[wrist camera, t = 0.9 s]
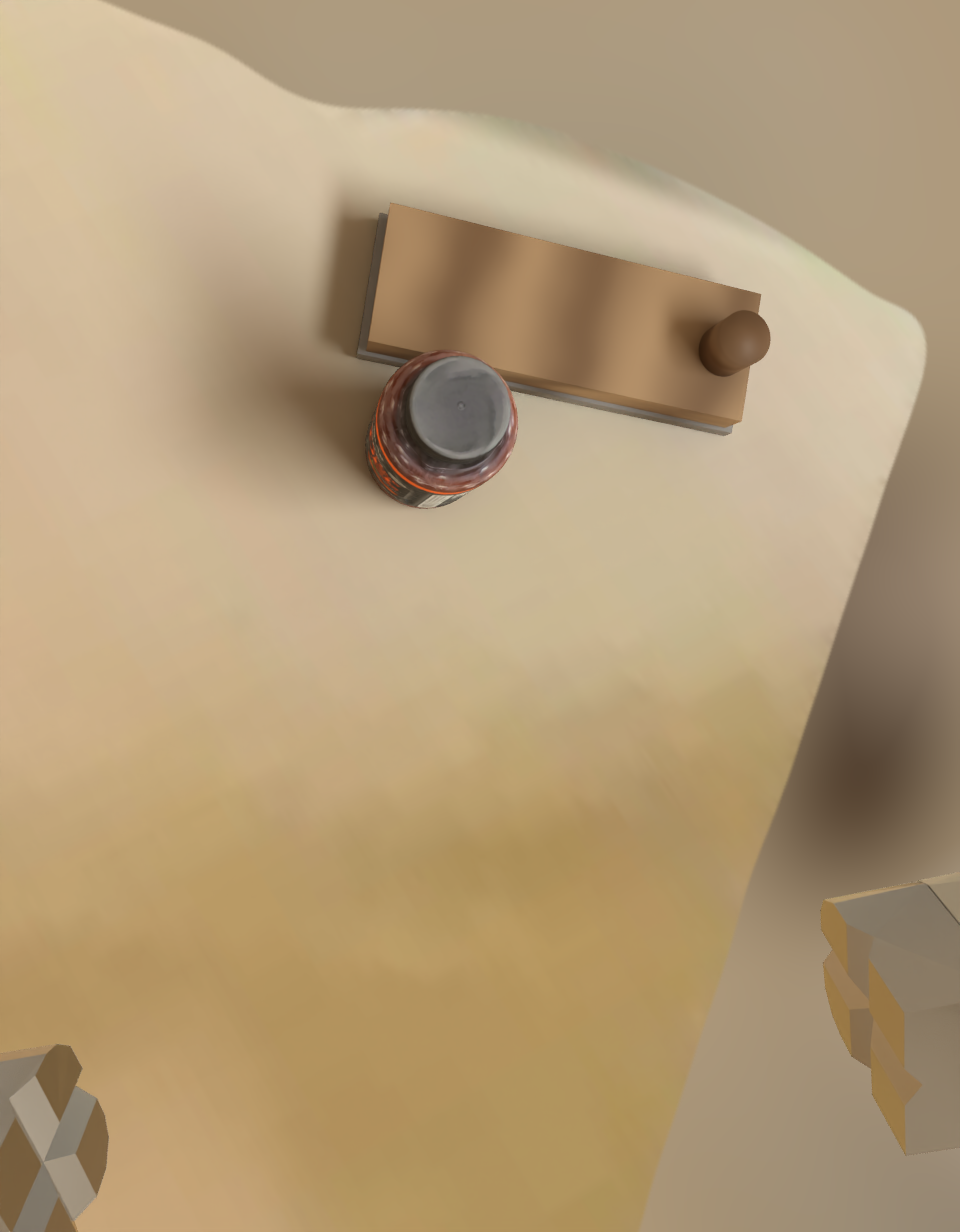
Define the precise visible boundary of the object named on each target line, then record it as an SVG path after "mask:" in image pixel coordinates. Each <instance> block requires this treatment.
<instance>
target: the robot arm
mask: <svg viewBox="0 0 960 1232" xmlns="http://www.w3.org/2000/svg"><path fill="white" fill-rule="evenodd" d="M821 930H822V932H823V934H824V935H825V937H826V939H827V940H828V942H829V944H830V945H831V947H832V951H831V952H830V954H829V955H828V956H827V958H826V959H825V961H824V962H823V968H824V978H825V989H826V992H827V997H828V1000H829V1004H830V1008H831V1012H832V1015H833V1018H834V1020H835V1023H836V1025H837V1028H838V1030H839V1033H840V1035H841V1037H842V1039H843V1041H844V1043H845V1045H846V1047H847V1049H848V1051H849V1052H850V1054H851V1056H852V1057H853V1058H855V1059H856V1060H858V1061H859V1062H861V1063H863V1064H864V1065H866V1066H867V1067H869V1068H871V1076H872V1095H873V1097H874V1099H875V1101H876V1103H877V1104H878V1106H879V1108H880V1110H881V1112H882V1113H883V1115H884V1117H885V1119H886V1121H887V1122H888V1124H889V1126H890V1128H891V1130H892V1132H893V1133H894V1135H895V1137H896V1139H897V1141H898V1142H899V1144H900V1146H901V1148H902V1150H903V1151H904V1154H905V1155H906V1156H908V1155H914V1154H921V1153H928V1152H934V1151H941V1150H948V1149H954V1148H960V872H957V873H953V874H948V875H943V876H938V877H933V878H928V879H923V880H918V881H917V883H916V882H911V883H906V884H901V885H896V886H891V887H886V888H881V889H875V890H871V891H865V892H860V893H855V894H850V895H845V896H840V897H835V898H830V899H825V900H823V904H822V908H821ZM81 1071H82V1066H81V1065H80V1063H79V1061H78V1059H77V1057H76V1055H75V1054H74V1052H73V1050H72V1048H71V1046H67V1045H61V1044H54V1045H48V1046H42V1047H36V1048H30V1049H24V1050H17V1051H11V1052H5V1053H0V1232H78V1230H77V1228H76V1225H75V1222H74V1221H75V1220H76V1219H77V1217H78V1216H79V1215H80V1214H81V1213H82V1212H83V1211H84V1210H85V1209H86V1208H87V1207H88V1205H89V1204H90V1203H91V1202H92V1201H93V1200H94V1199H95V1198H96V1197H97V1194H98V1191H99V1188H100V1185H101V1182H102V1179H103V1176H104V1173H105V1170H106V1164H107V1152H108V1141H109V1136H108V1130H107V1125H106V1119H105V1115H104V1112H103V1110H102V1108H101V1106H100V1104H99V1102H98V1099H97V1098H96V1097H94V1096H92V1095H90V1094H89V1093H87V1092H85V1091H84V1090H82V1089H80V1088H79V1087H77V1086H76V1083H77V1081H78V1078H79V1076H80V1073H81Z"/></svg>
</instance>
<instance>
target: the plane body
mask: <svg viewBox="0 0 960 1232" xmlns="http://www.w3.org/2000/svg"><path fill="white" fill-rule="evenodd" d="M760 299H761V294H758V293H754V292H750V291H746V290H742V289H738V288H734V287H730V286H726V285H722V284H718V283H714V282H710V281H706V280H702V279H698V278H693V277H689V276H685V275H681V274H677V273H673V272H669V271H665V270H661V269H657V268H653V267H649V266H645V265H641V264H637V263H633V262H629V261H625V260H621V259H617V258H613V257H608V256H604V255H600V254H596V253H592V252H588V251H584V250H580V249H576V248H572V247H568V246H564V245H560V244H556V243H552V242H548V241H544V240H540V239H536V238H532V237H528V236H523V235H519V234H515V233H511V232H507V231H503V230H499V229H495V228H491V227H487V226H483V225H479V224H475V223H471V222H467V221H463V220H459V219H455V218H451V217H447V216H443V215H439V214H434V213H430V212H426V211H422V210H418V209H414V208H410V207H406V206H402V205H398V204H394V203H390V208H389V213H388V215H387V214H383V213H380V215H379V220H378V226H377V233H376V239H375V245H374V251H373V258H372V264H371V270H370V276H369V283H368V289H367V295H366V301H365V308H364V314H363V320H362V326H361V333H360V339H359V345H358V351H357V358H360V359H364V360H369V361H374V362H379V363H383V364H388V365H393V366H398V367H402V366H403V365H404V364H405V363H406V362H408V361H409V360H411V359H412V358H414V357H416V356H419V355H421V354H423V353H426V352H430V351H436V350H455V351H461V352H465V353H468V354H471V355H474V356H476V357H478V358H480V359H482V360H483V361H485V362H486V363H488V364H489V365H490V366H491V367H493V368H494V369H495V370H496V371H497V372H498V373H499V374H500V375H501V377H502V378H503V379H504V381H505V382H506V383H507V385H508V387H509V389H510V390H511V391H516V392H520V393H525V394H530V395H535V396H539V397H544V398H549V399H553V400H558V401H563V402H568V403H572V404H577V405H582V406H587V407H591V408H596V409H601V410H605V411H610V412H615V413H620V414H624V415H629V416H634V417H638V418H643V419H648V420H653V421H657V422H662V423H667V424H672V425H676V426H681V427H686V428H690V429H695V430H700V431H705V432H709V433H714V434H719V435H724V436H725V435H728V434H730V433H732V427H733V424H736V423H738V422H741V421H742V415H743V409H744V402H745V396H746V389H747V383H748V376H749V370H750V365H752V364H754V363H756V362H758V361H759V360H761V359H762V358H763V357H764V356H765V354H766V353H767V351H768V349H769V346H770V332H769V328H768V326H767V324H766V322H765V321H764V320H763V318H762V317H760V316H759V315H758V312H759V305H760Z"/></svg>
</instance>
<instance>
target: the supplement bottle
mask: <svg viewBox="0 0 960 1232" xmlns="http://www.w3.org/2000/svg"><path fill="white" fill-rule="evenodd" d="M517 430H518V416H517V408H516V404H515V401H514V398H513V396H512V393H511V391H510V389H509V387H508V385H507V383H506V382H505V381H504V379H503V378H502V377H501V375H500V374H499V373H498V372H497V371H496V370H495V369H494V368H493V367H491V366H490V365H489V364H488V363H486V362H485V361H483V360H482V359H480V358H478V357H476V356H474V355H471V354H468V353H465V352H461V351H455V350H436V351H430V352H426V353H423V354H421V355H419V356H416V357H414V358H412V359H411V360H409V361H408V362H406V363H405V364H404V365H403V366H402V367H400V368H399V369H398V370H397V371H396V372H395V373H394V375H393V376H392V377H391V378H390V380H389V381H388V383H387V384H386V386H385V388H384V390H383V392H382V394H381V396H380V399H379V402H378V404H377V407H376V409H375V412H374V414H373V416H372V420H371V422H370V424H369V427H368V431H367V435H366V444H365V446H366V457H367V463H368V466H369V469H370V472H371V474H372V476H373V478H374V479H375V481H376V482H377V484H378V485H379V486H380V488H381V489H382V490H383V491H384V492H385V493H386V494H388V495H389V496H390V497H391V498H393V499H394V500H396V501H398V502H399V503H401V504H404V505H407V506H410V507H415V508H425V509H427V508H436V507H441V506H444V505H447V504H450V503H452V502H454V501H456V500H457V499H459V498H460V497H462V496H464V495H465V494H467V493H469V492H470V491H472V490H473V489H475V488H477V487H479V486H480V485H482V484H483V483H485V482H486V481H488V480H489V479H490V478H492V477H493V476H494V475H495V474H496V473H497V472H498V471H499V470H500V469H501V468H502V467H503V466H504V464H505V463H506V461H507V459H508V458H509V456H510V455H511V452H512V450H513V447H514V444H515V441H516V437H517Z"/></svg>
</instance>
